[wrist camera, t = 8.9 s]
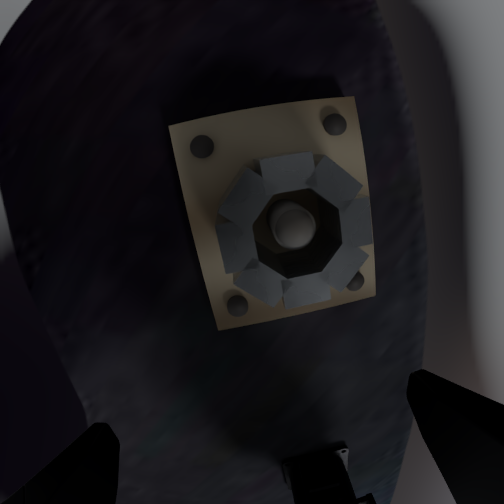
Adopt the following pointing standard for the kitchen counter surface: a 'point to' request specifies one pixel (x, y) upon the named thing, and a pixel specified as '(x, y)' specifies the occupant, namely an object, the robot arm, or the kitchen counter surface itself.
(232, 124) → the beige mounting plate
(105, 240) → the kitchen counter surface
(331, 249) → the ring
